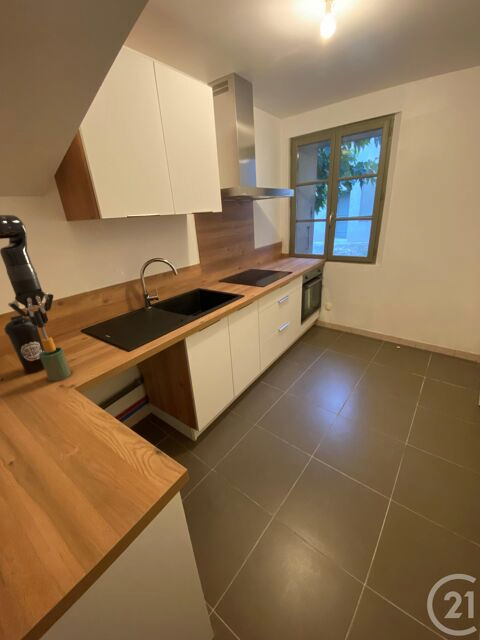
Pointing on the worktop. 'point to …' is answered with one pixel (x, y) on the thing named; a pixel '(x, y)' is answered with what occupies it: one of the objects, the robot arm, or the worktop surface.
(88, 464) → the worktop surface
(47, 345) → the brush
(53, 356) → the cup
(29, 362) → the water bottle
